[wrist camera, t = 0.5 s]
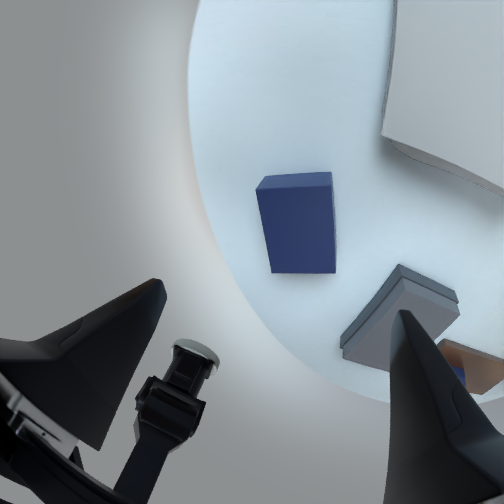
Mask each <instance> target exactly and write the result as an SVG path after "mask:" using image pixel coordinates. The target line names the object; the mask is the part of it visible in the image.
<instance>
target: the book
mask: <svg viewBox="0 0 504 504" xmlns="http://www.w3.org/2000/svg"><path fill="white" fill-rule="evenodd" d="M382 114H383V125H382V130H381V136H384V137H387V138H389V139H390V140H391V142H392V143H393V145H394V146H395V148H396V149H398V150H399V151H401V152H403V153H404V154H406V155H408V156H409V157H411V158H412V159H414V160H417V161H420V162H423V163H426V164H428V165H431V166H434V167H437V168H439V169H442V170H444V171H447V172H449V173H452V174H454V175H457V176H459V177H462V178H464V179H466V180H469V181H471V182H473V183H475V184H477V185H480V186H482V187H484V188H486V189H488V190H490V191H492V192H494V193H496V194H498V195H500V196H503V197H504V0H394V19H393V34H392V45H391V55H390V63H389V71H388V79H387V86H386V92H385V98H384V104H383V110H382Z"/></svg>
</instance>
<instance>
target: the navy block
mask: <svg viewBox="0 0 504 504" xmlns="http://www.w3.org/2000/svg"><path fill="white" fill-rule="evenodd" d="M256 195H257V200H258V205H259V210H260V215H261V220H262V225H263V230H264V235H265V240H266V246H267V251H268V256H269V261H270V266H271V271H272V273H336V228H335V209H334V195H333V182H332V173H331V172H317V173H300V174H286V175H274V176H265V177H264V178H263V180H262V181H261V182H260V184H259V185H258V187H257V188H256Z"/></svg>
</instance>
